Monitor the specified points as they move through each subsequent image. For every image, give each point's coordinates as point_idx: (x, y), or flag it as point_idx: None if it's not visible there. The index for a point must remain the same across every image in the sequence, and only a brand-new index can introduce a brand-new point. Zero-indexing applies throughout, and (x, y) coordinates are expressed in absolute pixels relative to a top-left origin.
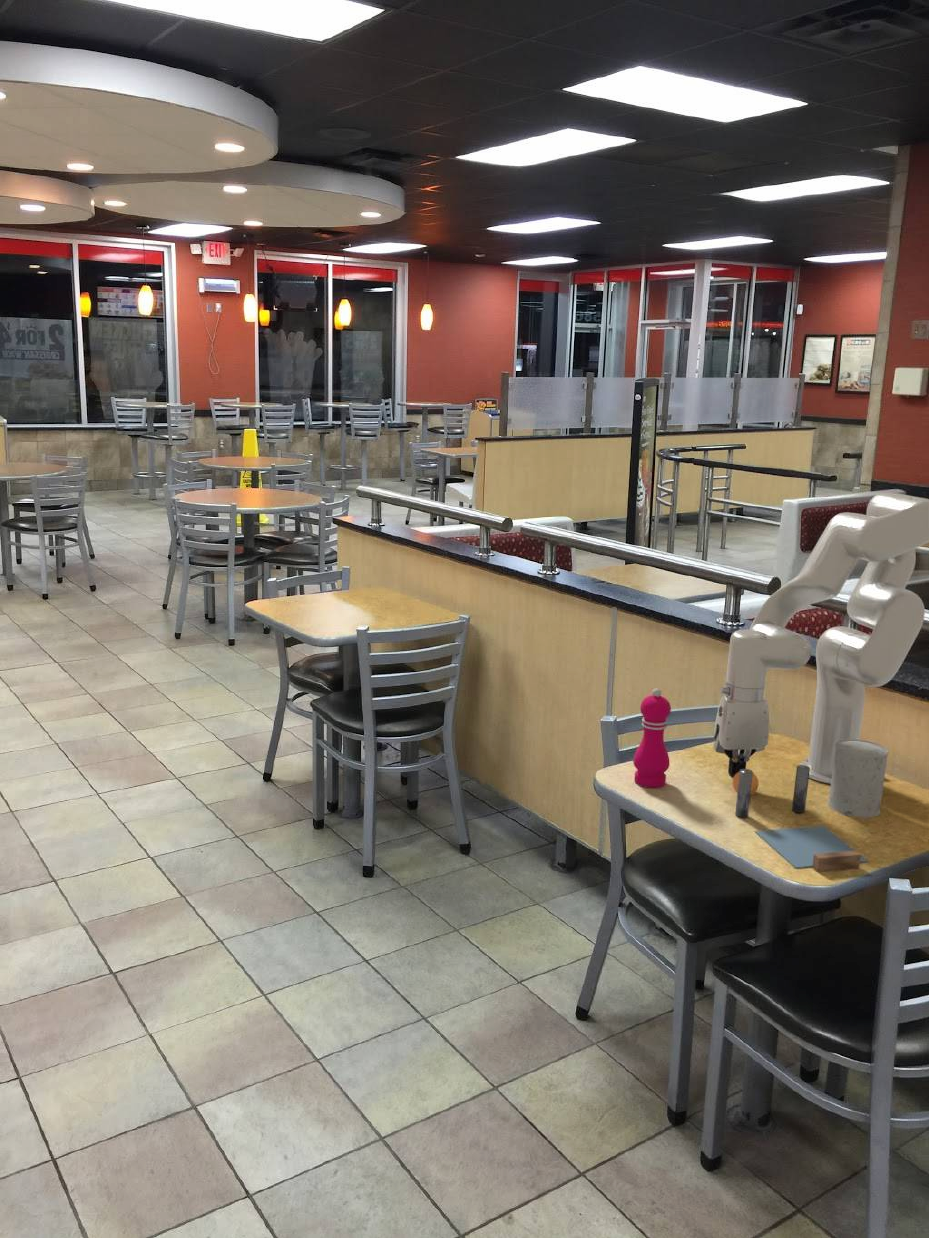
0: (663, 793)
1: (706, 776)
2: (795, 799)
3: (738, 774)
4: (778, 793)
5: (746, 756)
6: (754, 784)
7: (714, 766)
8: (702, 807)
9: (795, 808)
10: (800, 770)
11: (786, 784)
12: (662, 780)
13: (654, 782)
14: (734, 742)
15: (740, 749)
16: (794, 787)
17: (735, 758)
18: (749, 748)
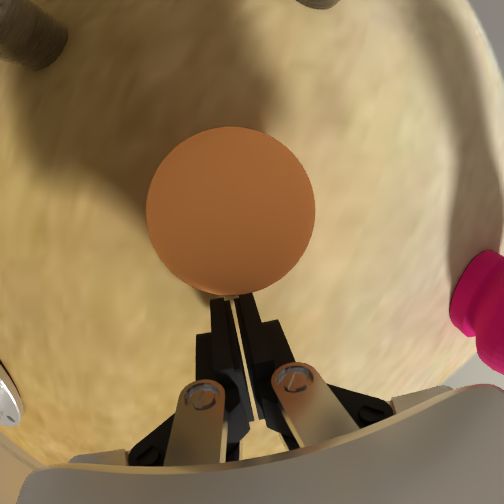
0: (484, 213)
1: (319, 362)
2: (38, 7)
3: (302, 219)
4: (61, 226)
5: (205, 413)
6: (192, 138)
7: (259, 424)
8: (431, 87)
9: (56, 20)
10: None
11: (34, 314)
12: (485, 268)
13: (498, 256)
14: (455, 471)
15: (320, 443)
16: (6, 6)
17: (300, 385)
18: (208, 471)
